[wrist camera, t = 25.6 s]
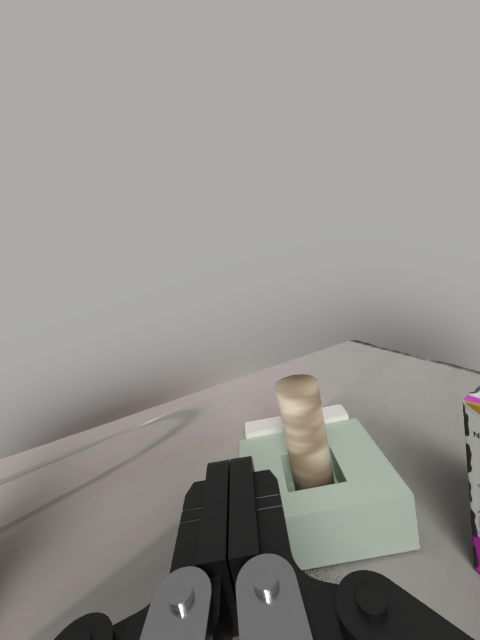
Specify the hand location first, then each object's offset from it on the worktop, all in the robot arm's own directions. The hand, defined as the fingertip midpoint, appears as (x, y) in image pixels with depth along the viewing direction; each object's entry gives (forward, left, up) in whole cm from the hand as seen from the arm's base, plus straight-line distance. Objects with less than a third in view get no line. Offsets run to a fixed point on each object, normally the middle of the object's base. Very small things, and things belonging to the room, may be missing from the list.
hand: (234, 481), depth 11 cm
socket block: (+5, +22, -23) cm, 32 cm away
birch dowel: (+5, +21, -20) cm, 30 cm away
